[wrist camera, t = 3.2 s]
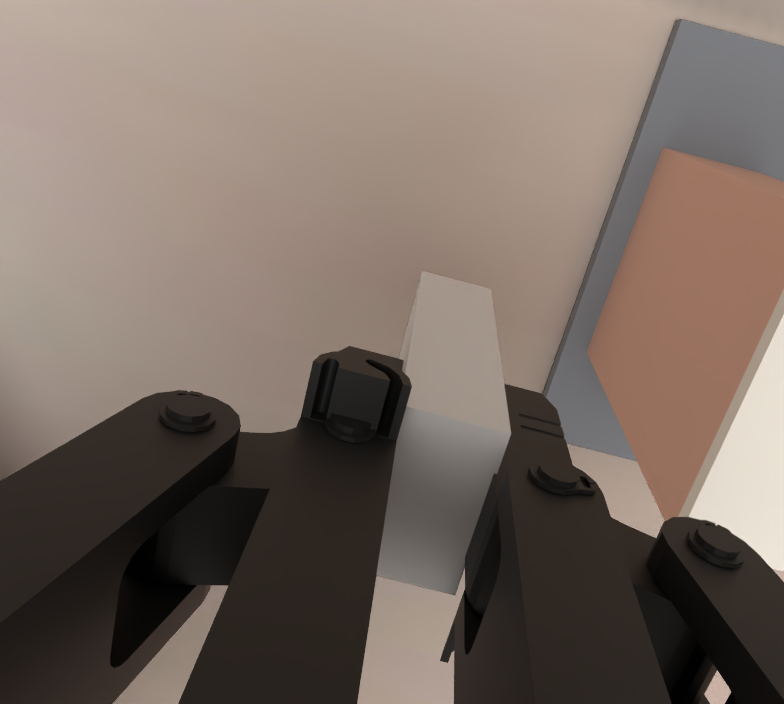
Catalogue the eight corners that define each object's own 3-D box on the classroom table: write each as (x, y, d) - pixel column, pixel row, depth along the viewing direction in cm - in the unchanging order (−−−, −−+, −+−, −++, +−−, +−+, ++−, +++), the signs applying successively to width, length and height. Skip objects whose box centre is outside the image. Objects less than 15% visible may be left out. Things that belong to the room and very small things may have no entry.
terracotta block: (586, 352, 33) (675, 544, 20) (662, 147, 30) (829, 217, 17) (674, 374, 33) (819, 580, 20) (759, 172, 30) (1001, 262, 17)
